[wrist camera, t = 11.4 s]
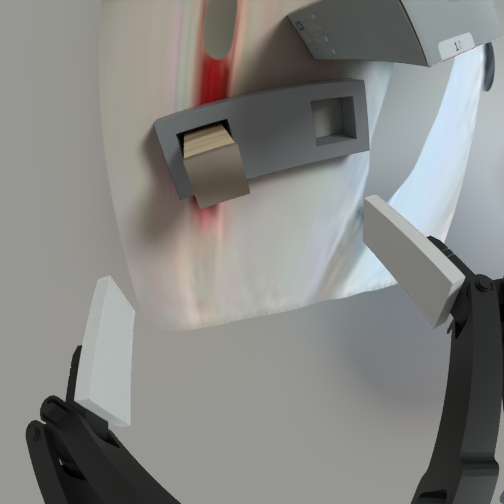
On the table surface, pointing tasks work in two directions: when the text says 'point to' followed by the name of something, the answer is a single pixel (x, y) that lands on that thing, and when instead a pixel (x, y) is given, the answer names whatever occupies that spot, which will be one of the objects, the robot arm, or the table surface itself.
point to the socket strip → (272, 128)
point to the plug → (213, 165)
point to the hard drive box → (395, 29)
